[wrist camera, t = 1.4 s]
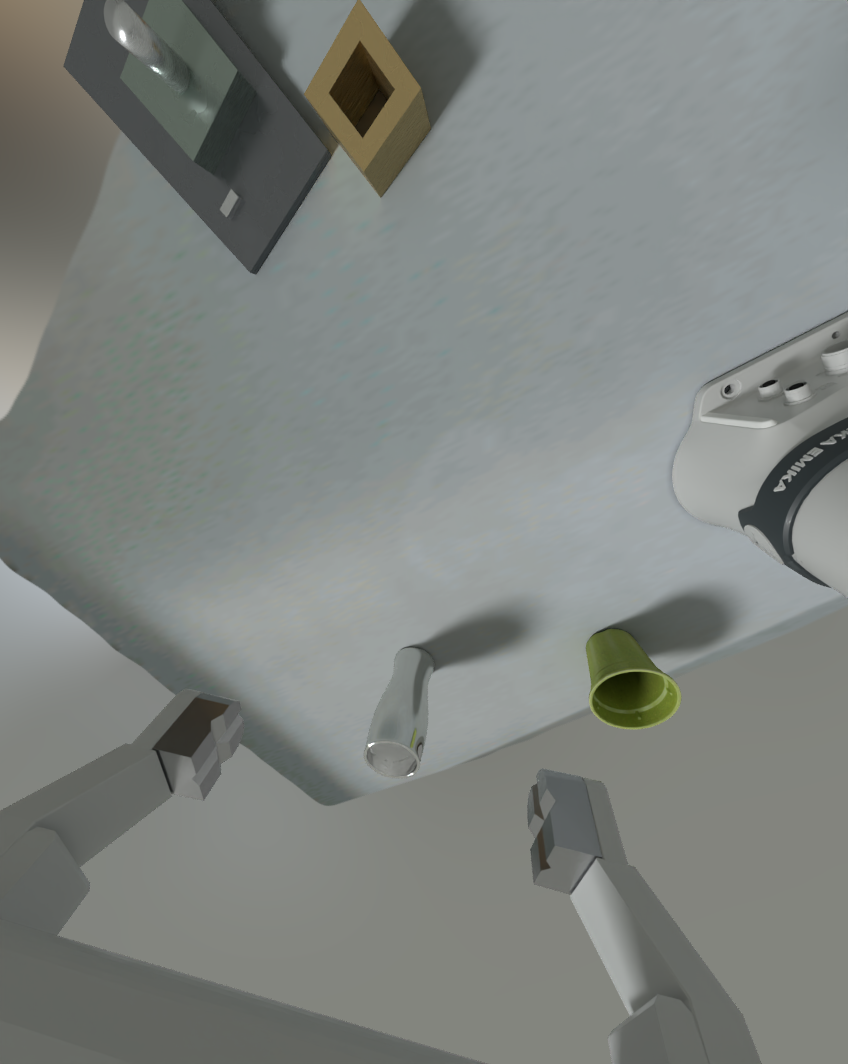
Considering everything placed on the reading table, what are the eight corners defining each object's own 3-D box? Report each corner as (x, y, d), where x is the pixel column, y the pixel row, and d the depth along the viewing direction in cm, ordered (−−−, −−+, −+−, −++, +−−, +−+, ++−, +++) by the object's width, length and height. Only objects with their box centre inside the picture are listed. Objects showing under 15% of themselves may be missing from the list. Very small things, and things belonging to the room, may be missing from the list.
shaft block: (132, -100, 27) (-8, -281, 19) (331, 155, 31) (282, 90, 24) (75, 74, 31) (-56, -16, 24) (255, 274, 36) (194, 252, 28)
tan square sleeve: (378, 55, 28) (358, -2, 24) (431, 129, 29) (421, 88, 25) (330, 132, 30) (304, 94, 26) (380, 197, 32) (363, 171, 27)
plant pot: (662, 626, 46) (698, 681, 38) (632, 679, 50) (658, 738, 42) (587, 610, 46) (607, 660, 39) (563, 663, 51) (577, 718, 43)
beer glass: (437, 646, 53) (420, 744, 39) (437, 681, 56) (422, 783, 42) (390, 642, 54) (358, 736, 40) (393, 676, 57) (364, 775, 43)
